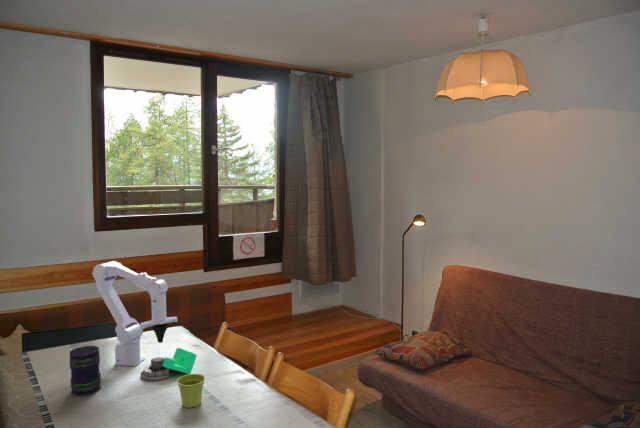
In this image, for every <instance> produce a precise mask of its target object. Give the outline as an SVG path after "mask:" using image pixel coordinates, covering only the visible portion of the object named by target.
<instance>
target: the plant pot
mask: <svg viewBox="0 0 640 428" xmlns="http://www.w3.org/2000/svg"><path fill="white" fill-rule="evenodd" d="M205 381H206V376H205V375H203V374H201V373H200V374H199V373H191V374H188V373H187V374H185V375H182V376H180V377H178V378H177V380H176V384H177V385H178V389H179V392H180V398H181V403H182V404H181V405H182V406H183V408H188V409H190V408H193V407H194V408H196V407H199V406H200V405H201V403H202V396H203V387H204V383H205Z"/></svg>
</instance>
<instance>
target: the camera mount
mask: <svg viewBox="0 0 640 428" xmlns="http://www.w3.org/2000/svg"><path fill="white" fill-rule="evenodd" d="M172 357H173V358H170V357H164V362H163V364H162V366H163V367H166V368H170V369H173V370H175V371H178V372H181V373H185V374H187V375H188V374H192V371H193V368H194V365H195V362H196V359H197V353H194V352H192V351H190V350H187V349H184V348H180V347H177V348H176V349H175V352H174V354H173V356H172Z"/></svg>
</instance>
